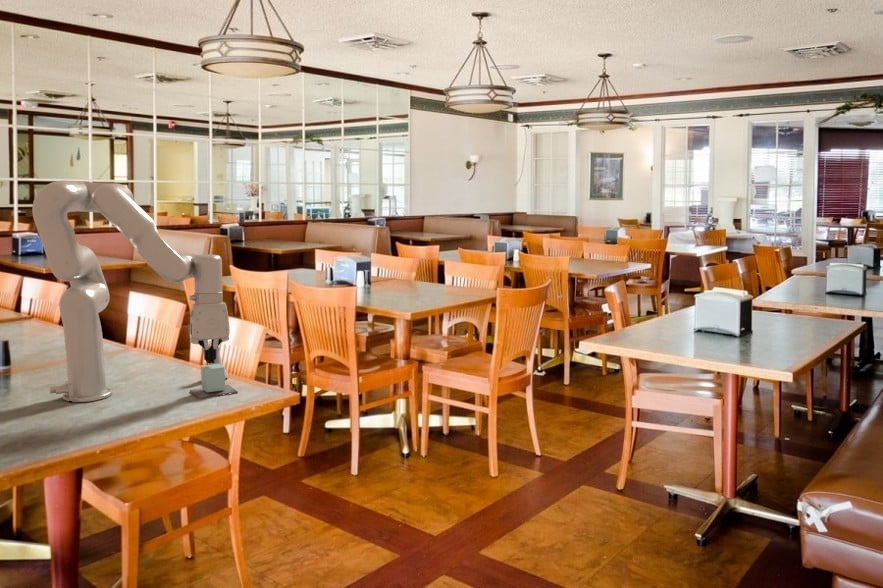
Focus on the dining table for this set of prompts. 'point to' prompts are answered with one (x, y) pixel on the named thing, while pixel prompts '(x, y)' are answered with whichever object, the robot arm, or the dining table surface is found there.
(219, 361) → the flask
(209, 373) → the sage green cube
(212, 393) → the thin dark base plate
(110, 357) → the dining table surface
